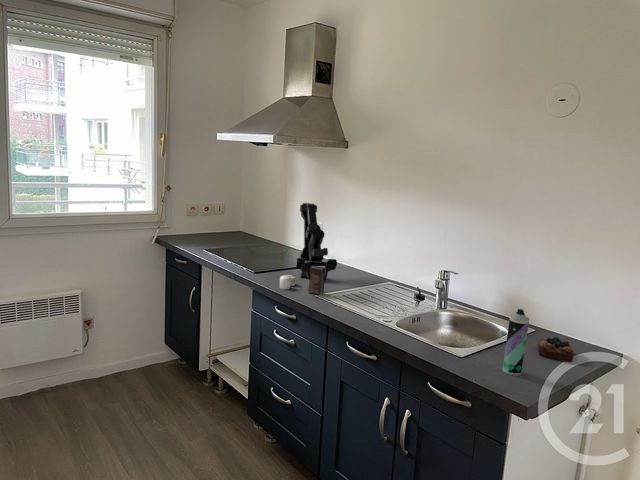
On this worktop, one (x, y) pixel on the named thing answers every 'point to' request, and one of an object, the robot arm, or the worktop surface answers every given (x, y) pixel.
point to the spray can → (516, 343)
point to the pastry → (555, 349)
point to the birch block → (291, 280)
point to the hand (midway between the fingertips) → (317, 279)
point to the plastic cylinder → (285, 282)
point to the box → (316, 280)
